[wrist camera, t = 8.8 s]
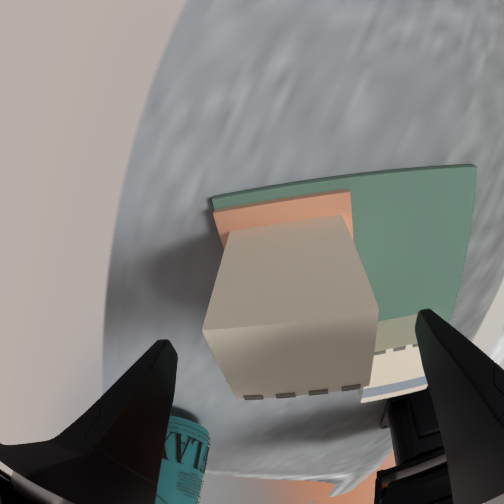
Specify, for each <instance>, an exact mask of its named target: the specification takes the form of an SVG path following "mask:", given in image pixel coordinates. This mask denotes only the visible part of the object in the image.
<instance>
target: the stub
mask: <svg viewBox="0 0 504 504" xmlns="http://www.w3.org/2000/svg"><path fill="white" fill-rule="evenodd" d="M378 314H379V308H378V305H377V302H376V300H375V297H374V294H373V291H372V288H371V286H370V283H369V280H368V278H367V275H366V272H365V270H364V267H363V265H362V262H361V260H360V257H359V254H358V252H357V249H356V247H355V245H354V242H353V240H352V237H351V235H350V233H349V230H348V228H347V225H346V223H345V221H344V219H343V216H342V214H339V215H332V216H325V217H318V218H311V219H305V220H298V221H291V222H285V223H278V224H272V225H265V226H259V227H253V228H247V229H240V230H234V231H230V233H229V236H228V240H227V243H226V247H225V250H224V253H223V257H222V260H221V264H220V267H219V271H218V274H217V278H216V281H215V285H214V288H213V292H212V295H211V299H210V302H209V306H208V309H207V313H206V317H205V320H204V324H203V327H202V332H203V334H204V336H205V338H206V340H207V342H208V344H209V347H210V349H211V351H212V353H213V355H214V357H215V359H216V361H217V363H218V365H219V367H220V369H221V371H222V372H223V374H224V376H225V378H226V380H227V382H228V384H229V386H230V388H231V390H232V392H233V393H234V395H235V397H236V399H245V400H259V399H263V398H274V397H276V398H290V397H296V396H299V395H309V396H311V395H319V394H328V392H334V391H341V390H342V391H349V390H355V389H360V388H361V387H366V386H369V384H370V378H371V372H372V365H373V358H374V350H375V342H376V334H377V324H378Z"/></svg>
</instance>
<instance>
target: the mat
mask: <svg viewBox="0 0 504 504" xmlns="http://www.w3.org/2000/svg"><path fill="white" fill-rule="evenodd" d="M476 170H477V166H475V165H473V164H464V165H446V166H431V167H418V168H406V169H396V170H385V171H376V172H367V173H358V174H350V175H342V176H334V177H327V178H319V179H312V180H305V181H299V182H292V183H286V184H279V185H273V186H267V187H261V188H256V189H250V190H244V191H239V192H233V193H228V194H223V195H218V196H213V198H212V203H213V206H214V209H221V208H226V207H232V206H238V205H243V204H249V203H255V202H261V201H267V200H273V199H279V198H286V197H292V196H299V195H306V194H312V193H319V192H327V191H334V190H341V189H349V191H350V195H351V208H352V224H353V242H354V245H355V247H356V249H357V252H358V254H359V257H360V260H361V262H362V265H363V267H364V270H365V272H366V275H367V278H368V280H369V283H370V286H371V288H372V291H373V294H374V297H375V300H376V302H377V305H378V308H379V314H378V321H384V320H389V319H395V318H400V317H405V316H410V315H415V314H418V312H419V310H422V309H427V308H429V309H431V310H432V311H433V310H435V311H436V313H437V315H439V316H440V317H441V318H443V319H444V320H445V321H446V322H448V323H449V321H450V318H451V314H452V311H453V308H454V304H455V300H456V297H457V293H458V289H459V285H460V281H461V277H462V272H463V268H464V263H465V258H466V253H467V248H468V242H469V236H470V230H471V223H472V215H473V207H474V197H475V186H476Z"/></svg>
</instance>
